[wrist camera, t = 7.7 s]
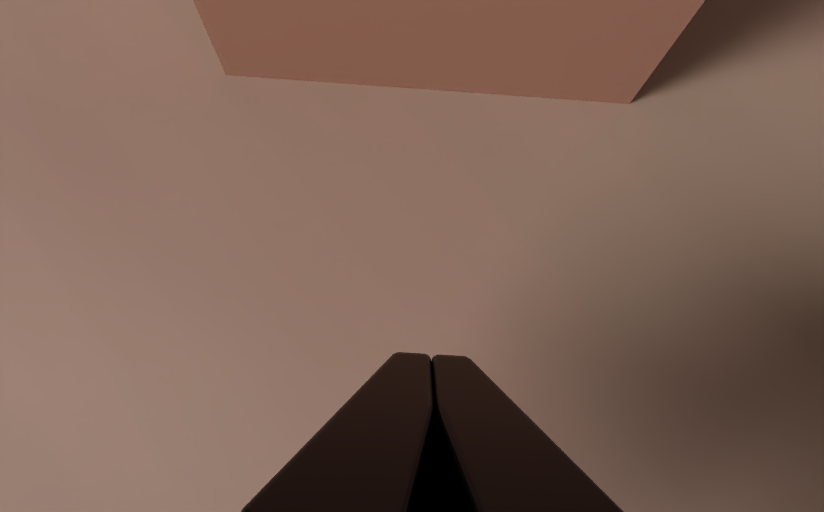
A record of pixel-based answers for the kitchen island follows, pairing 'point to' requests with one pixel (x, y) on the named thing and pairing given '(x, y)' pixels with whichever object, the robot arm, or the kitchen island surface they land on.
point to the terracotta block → (452, 43)
